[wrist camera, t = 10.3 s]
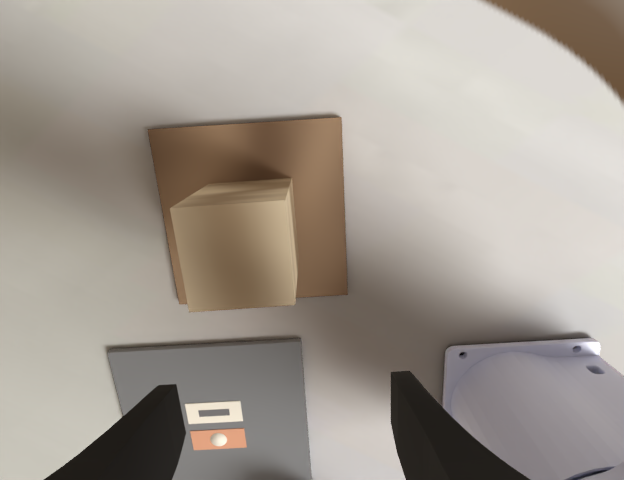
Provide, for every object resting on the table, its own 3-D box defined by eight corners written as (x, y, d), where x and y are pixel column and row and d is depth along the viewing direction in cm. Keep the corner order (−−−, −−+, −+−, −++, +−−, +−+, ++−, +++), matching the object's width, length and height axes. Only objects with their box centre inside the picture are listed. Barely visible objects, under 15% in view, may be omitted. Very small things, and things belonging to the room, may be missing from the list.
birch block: (291, 177, 20) (285, 200, 15) (298, 256, 22) (295, 304, 16) (208, 183, 21) (169, 208, 15) (220, 262, 22) (189, 312, 16)
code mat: (300, 338, 24) (300, 342, 23) (312, 484, 27) (312, 490, 27) (110, 349, 24) (106, 353, 24) (146, 492, 28) (143, 499, 27)
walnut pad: (340, 117, 20) (341, 117, 20) (346, 291, 23) (347, 294, 23) (150, 129, 20) (147, 129, 20) (181, 301, 23) (179, 304, 23)
